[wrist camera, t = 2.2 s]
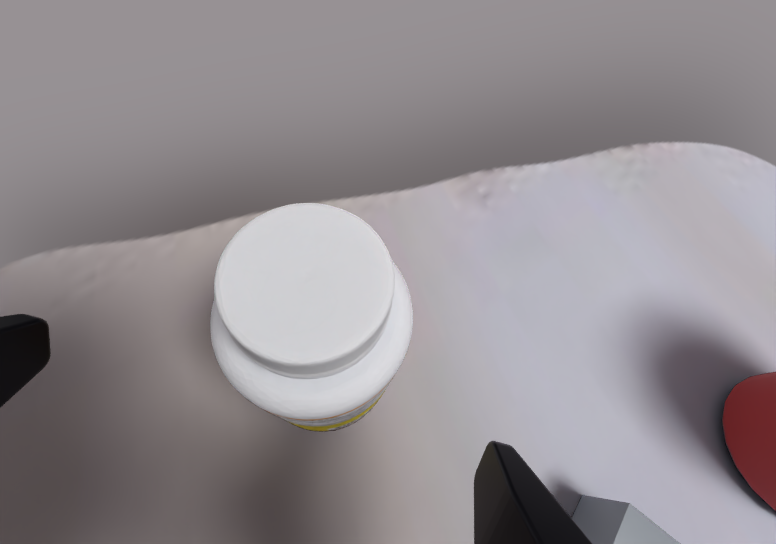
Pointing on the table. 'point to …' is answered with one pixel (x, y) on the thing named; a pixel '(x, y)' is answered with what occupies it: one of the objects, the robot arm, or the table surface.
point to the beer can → (753, 433)
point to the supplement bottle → (310, 315)
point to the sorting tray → (617, 523)
